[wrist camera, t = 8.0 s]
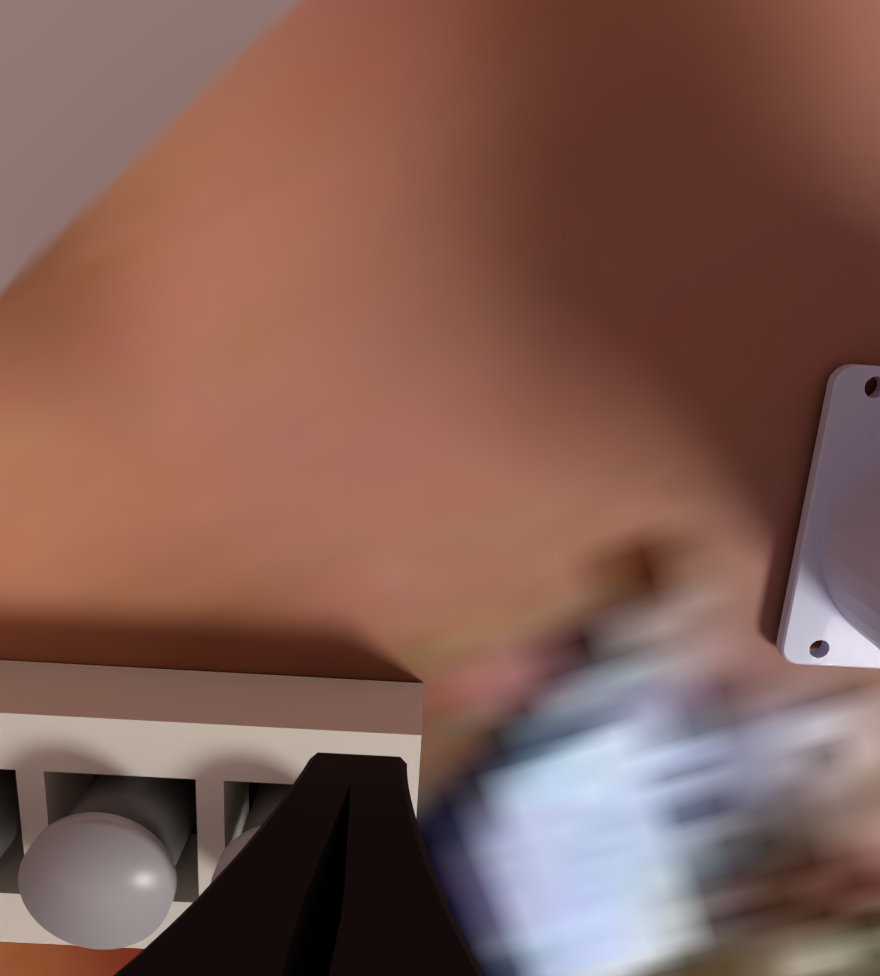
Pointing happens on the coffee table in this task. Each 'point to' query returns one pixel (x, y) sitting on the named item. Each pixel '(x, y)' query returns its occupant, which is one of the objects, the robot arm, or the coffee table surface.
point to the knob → (8, 809)
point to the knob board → (180, 749)
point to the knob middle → (110, 861)
